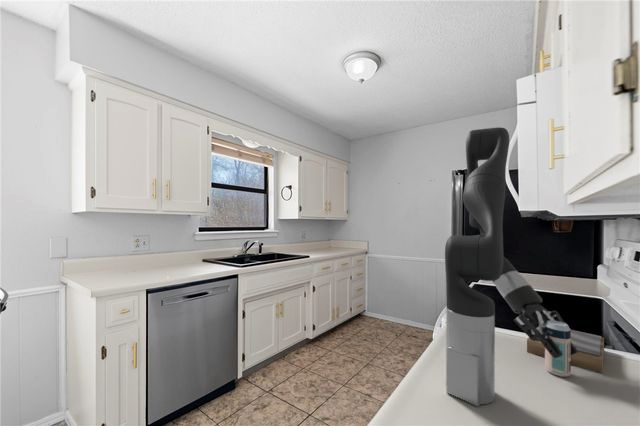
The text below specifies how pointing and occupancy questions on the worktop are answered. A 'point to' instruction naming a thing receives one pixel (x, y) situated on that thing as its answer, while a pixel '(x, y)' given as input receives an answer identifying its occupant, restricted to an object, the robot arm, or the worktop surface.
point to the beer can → (563, 341)
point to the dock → (587, 349)
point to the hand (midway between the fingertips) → (566, 354)
